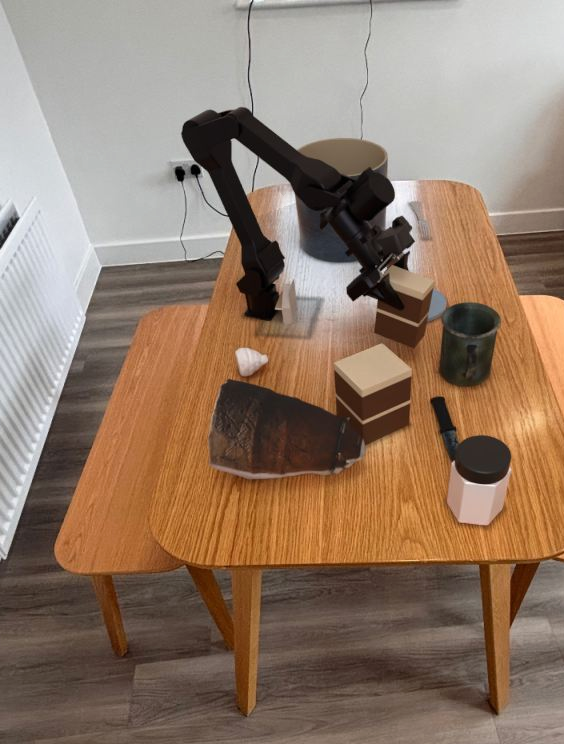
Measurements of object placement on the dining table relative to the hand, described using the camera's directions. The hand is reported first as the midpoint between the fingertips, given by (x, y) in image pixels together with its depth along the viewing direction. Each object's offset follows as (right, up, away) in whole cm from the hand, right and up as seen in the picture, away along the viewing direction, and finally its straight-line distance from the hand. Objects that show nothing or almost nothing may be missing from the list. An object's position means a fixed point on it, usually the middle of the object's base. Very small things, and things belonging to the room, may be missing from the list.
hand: (408, 302), depth 122 cm
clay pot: (-21, -32, -11) cm, 40 cm away
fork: (+7, +37, +46) cm, 59 cm away
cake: (-7, -23, -5) cm, 25 cm away
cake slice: (-1, -4, +6) cm, 8 cm away
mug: (+11, -14, +3) cm, 18 cm away
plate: (+3, +6, +20) cm, 21 cm away
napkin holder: (-24, +3, +19) cm, 31 cm away
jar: (+9, -39, -18) cm, 44 cm away
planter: (-13, +28, +40) cm, 50 cm away
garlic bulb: (-30, -12, +6) cm, 33 cm away
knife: (+7, -27, -8) cm, 29 cm away
